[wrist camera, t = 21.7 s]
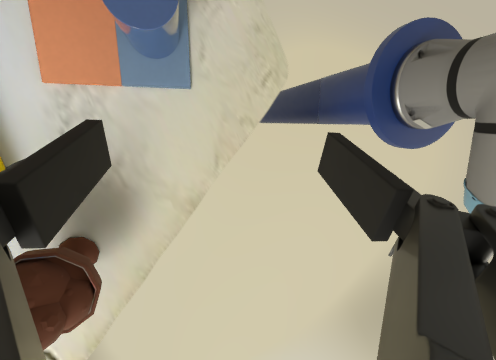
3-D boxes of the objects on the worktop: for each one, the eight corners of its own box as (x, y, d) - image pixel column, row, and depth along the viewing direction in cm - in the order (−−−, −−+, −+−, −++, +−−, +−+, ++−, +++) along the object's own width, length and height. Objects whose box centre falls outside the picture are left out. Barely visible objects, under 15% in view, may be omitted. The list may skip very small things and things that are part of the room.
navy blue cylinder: (178, 4, 32) (176, -52, 21) (180, 60, 33) (180, 33, 23) (121, -3, 30) (90, -68, 20) (127, 57, 32) (101, 25, 21)
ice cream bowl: (134, 254, 38) (107, 330, 24) (74, 298, 37) (10, 405, 23) (82, 205, 35) (15, 261, 21) (15, 253, 34) (-103, 346, 20)
